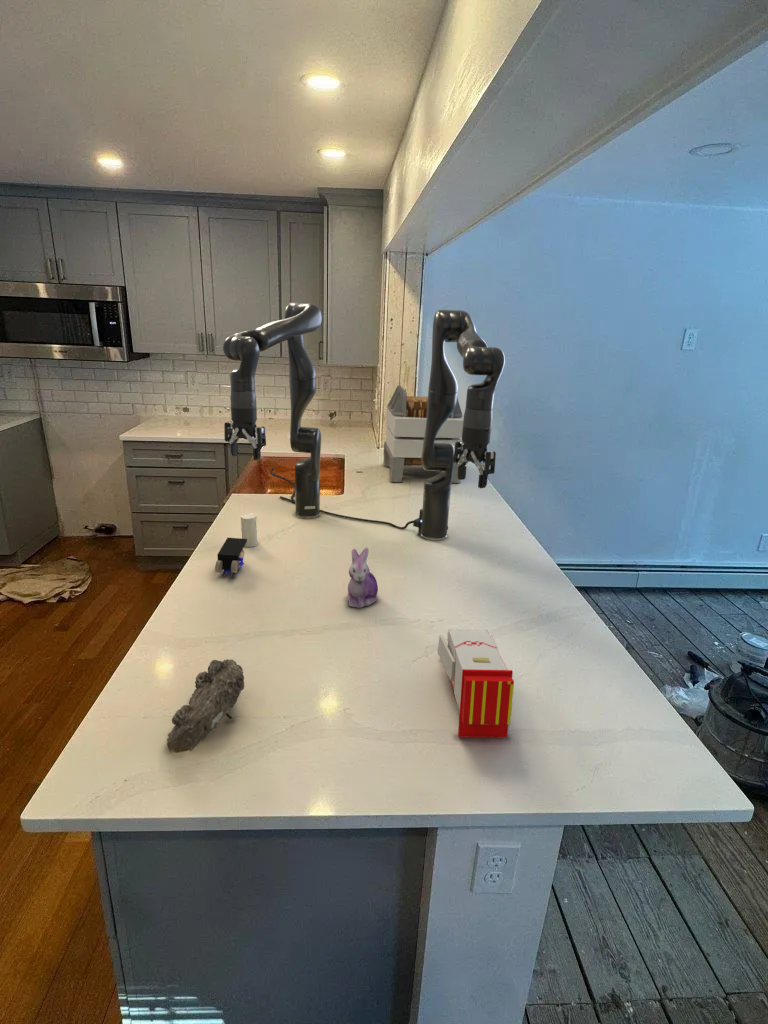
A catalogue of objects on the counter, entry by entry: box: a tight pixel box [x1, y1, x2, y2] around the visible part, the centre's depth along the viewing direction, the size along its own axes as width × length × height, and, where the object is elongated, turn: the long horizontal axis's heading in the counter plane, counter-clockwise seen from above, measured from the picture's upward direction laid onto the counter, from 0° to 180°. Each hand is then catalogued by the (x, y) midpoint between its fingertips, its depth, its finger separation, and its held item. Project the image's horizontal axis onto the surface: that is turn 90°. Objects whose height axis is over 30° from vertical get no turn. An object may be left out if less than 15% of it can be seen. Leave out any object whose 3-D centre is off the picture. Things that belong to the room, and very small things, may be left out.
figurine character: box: [214, 537, 247, 578], centre depth 166 cm, size 7×8×15 cm
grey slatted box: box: [383, 384, 464, 484], centre depth 268 cm, size 34×33×41 cm
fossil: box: [166, 658, 245, 754], centre depth 106 cm, size 22×10×15 cm
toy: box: [437, 628, 515, 738], centre depth 117 cm, size 12×13×30 cm
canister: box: [240, 513, 258, 548], centre depth 184 cm, size 5×5×10 cm
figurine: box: [346, 546, 379, 609], centre depth 151 cm, size 9×10×15 cm
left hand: (245, 457), depth 176 cm, fingers open, 8 cm apart
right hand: (471, 483), depth 156 cm, fingers open, 8 cm apart
